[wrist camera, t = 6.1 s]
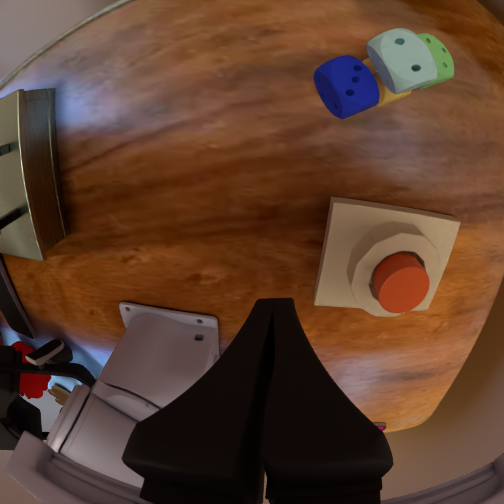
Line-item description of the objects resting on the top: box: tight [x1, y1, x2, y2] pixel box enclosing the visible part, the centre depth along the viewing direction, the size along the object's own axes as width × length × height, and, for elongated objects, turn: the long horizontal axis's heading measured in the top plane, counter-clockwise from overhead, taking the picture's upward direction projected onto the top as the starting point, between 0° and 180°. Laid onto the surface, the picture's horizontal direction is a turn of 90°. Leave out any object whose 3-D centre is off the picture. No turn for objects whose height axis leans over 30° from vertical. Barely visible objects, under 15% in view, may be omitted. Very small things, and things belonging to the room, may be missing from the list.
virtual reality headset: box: [0, 339, 96, 450], centre depth 23 cm, size 19×22×15 cm
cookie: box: [48, 386, 70, 406], centre depth 39 cm, size 8×1×10 cm
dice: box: [314, 28, 454, 119], centre depth 11 cm, size 8×3×6 cm, turn 121°
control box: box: [313, 197, 460, 317], centre depth 18 cm, size 10×8×3 cm
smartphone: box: [0, 258, 37, 339], centre depth 27 cm, size 7×1×15 cm
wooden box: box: [24, 88, 70, 252], centre depth 17 cm, size 8×13×4 cm, turn 177°
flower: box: [11, 341, 51, 399], centre depth 30 cm, size 8×8×8 cm
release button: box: [373, 253, 430, 314], centre depth 16 cm, size 4×4×2 cm
